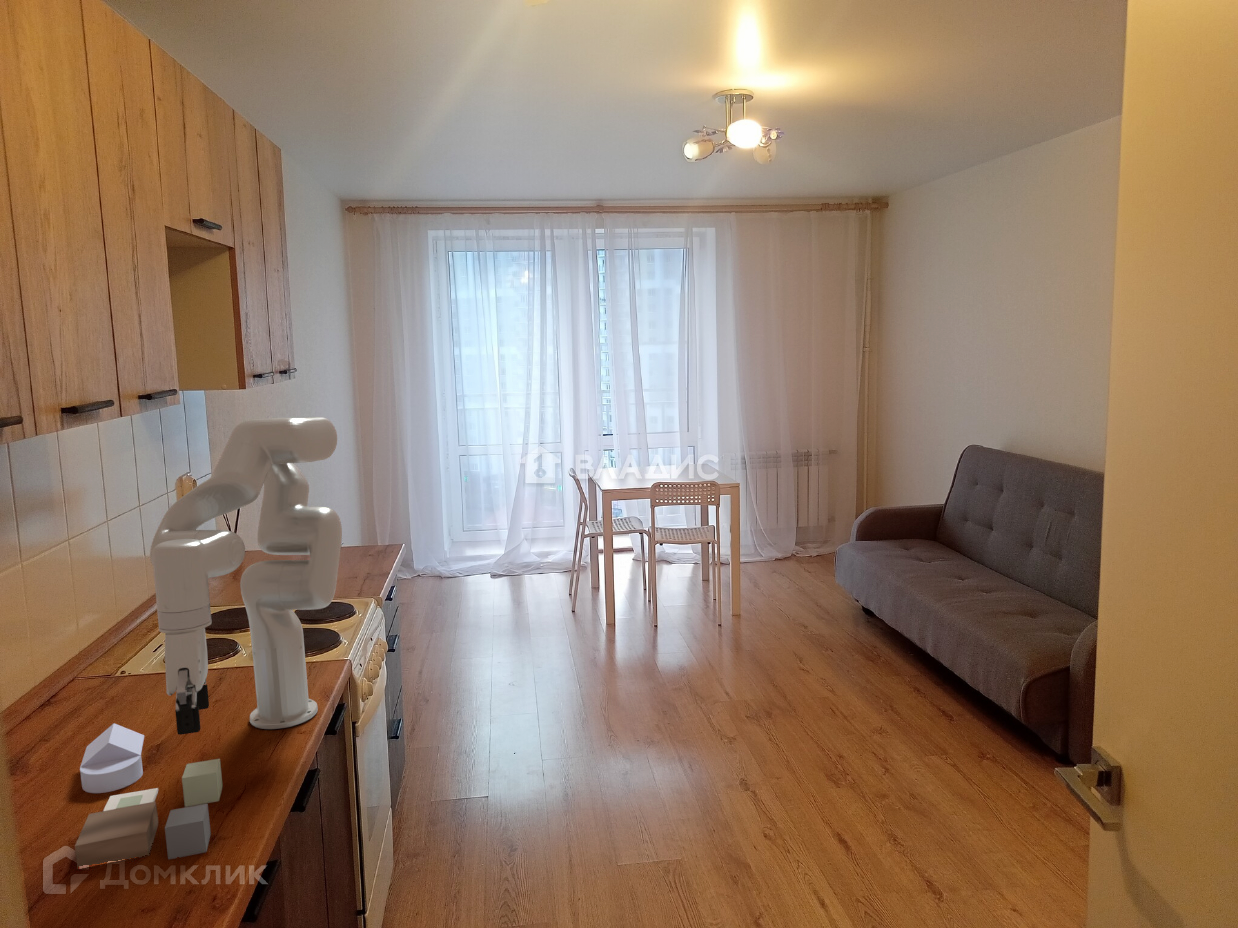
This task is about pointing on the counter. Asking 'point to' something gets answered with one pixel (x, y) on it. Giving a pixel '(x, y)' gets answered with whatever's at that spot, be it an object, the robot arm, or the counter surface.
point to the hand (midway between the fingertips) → (194, 720)
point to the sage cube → (202, 782)
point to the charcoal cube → (187, 831)
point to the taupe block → (117, 834)
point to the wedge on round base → (112, 760)
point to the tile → (131, 799)
